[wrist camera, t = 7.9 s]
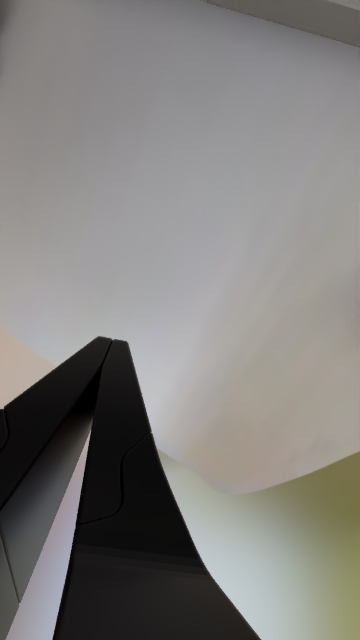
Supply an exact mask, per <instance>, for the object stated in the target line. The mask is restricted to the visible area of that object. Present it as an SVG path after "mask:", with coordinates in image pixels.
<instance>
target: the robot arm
mask: <svg viewBox="0 0 360 640" xmlns="http://www.w3.org/2000/svg"><path fill="white" fill-rule="evenodd" d="M90 430H91V435H90V441H89V446H88V452H87V458H86V465H85V471H84V477H83V483H82V489H81V495H80V501H79V508H78V513H77V520H76V528H75V532H74V537H73V543H72V549H71V554H70V560H69V565H68V570H67V575H66V579H65V584H64V589H63V593H62V598H61V603H60V607H59V612H58V616H57V621H56V626H55V630H54V635H53V640H261V639H260V638H259V636H258V635H257V634H256V633H255V631H254V630H253V629H252V628H251V626H250V625H249V624H248V622H247V621H246V620H245V619H244V617H243V616H242V615H241V613H240V612H239V611H238V610H237V609H236V607H235V606H234V605H233V603H232V602H231V601H230V599H229V598H228V597H227V596H226V594H225V593H224V592H223V591H222V589H221V588H220V587H219V585H218V584H217V583H216V582H215V580H214V579H213V578H212V576H211V575H210V573H209V571H208V570H207V568H206V567H205V565H204V563H203V561H202V559H201V557H200V555H199V553H198V551H197V549H196V547H195V545H194V542H193V540H192V538H191V535H190V533H189V531H188V528H187V526H186V524H185V521H184V519H183V516H182V515H181V512H180V509H179V507H178V505H177V502H176V500H175V498H174V495H173V493H172V490H171V488H170V485H169V483H168V480H167V478H166V475H165V473H164V470H163V467H162V464H161V461H160V458H159V455H158V451H157V448H156V445H155V441H154V437H153V434H152V433H151V432H152V431H151V427H150V423H149V419H148V416H147V412H146V408H145V404H144V401H143V397H142V393H141V389H140V386H139V382H138V378H137V374H136V371H135V367H134V363H133V359H132V356H131V352H130V348H129V344H128V342H127V341H123V340H117V339H114V340H112V339H111V338H106V337H101V336H99V337H97V338H95V339H94V340H93V341H91V342H90V343H89V344H87V345H86V346H84V347H83V348H82V349H80V350H79V351H78V352H76V353H75V354H74V355H72V356H71V357H70V358H68V359H67V360H66V361H64V362H63V363H62V364H60V365H59V366H58V367H56V368H55V369H54V370H52V371H51V372H50V373H49V374H47V375H46V376H44V377H43V378H42V379H40V380H39V381H38V382H36V383H35V384H34V385H32V386H31V387H30V388H28V389H27V390H26V391H24V392H23V393H22V394H20V395H19V396H18V397H16V398H15V399H14V400H12V401H11V402H10V403H8V404H7V405H6V406H4V410H3V409H0V640H5V639H6V637H7V635H8V632H9V630H10V627H11V624H12V622H13V619H14V617H15V615H16V612H17V610H18V607H19V603H20V602H21V600H22V597H23V595H24V593H25V590H26V588H27V585H28V583H29V580H30V577H31V575H32V573H33V570H34V568H35V565H36V563H37V561H38V558H39V555H40V553H41V551H42V548H43V546H44V543H45V541H46V538H47V536H48V533H49V531H50V529H51V526H52V523H53V521H54V519H55V516H56V514H57V511H58V509H59V506H60V504H61V501H62V499H63V497H64V494H65V492H66V489H67V486H68V484H69V482H70V479H71V477H72V474H73V472H74V470H75V467H76V464H77V462H78V460H79V457H80V455H81V452H82V450H83V447H84V445H85V442H86V440H87V437H88V435H89V433H90Z"/></svg>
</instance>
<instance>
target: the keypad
mask: <svg viewBox="0 0 360 640" xmlns="http://www.w3.org/2000/svg"><path fill="white" fill-rule="evenodd" d="M201 1H205V2H208V3H211V4H215V5H218V6H222V7H225V8H229V9H232V10H235V11H239V12H242V13H246V14H249V15H252V16H256V17H259V18H263V19H266V20H270V21H273V22H276V23H280V24H283V25H287V26H290V27H294V28H297V29H300V30H304V31H307V32H311V33H314V34H318V35H321V36H324V37H328V38H331V39H335V40H338V41H342V42H345V43H348V44H352V45H355V46H359V47H360V0H201Z"/></svg>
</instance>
